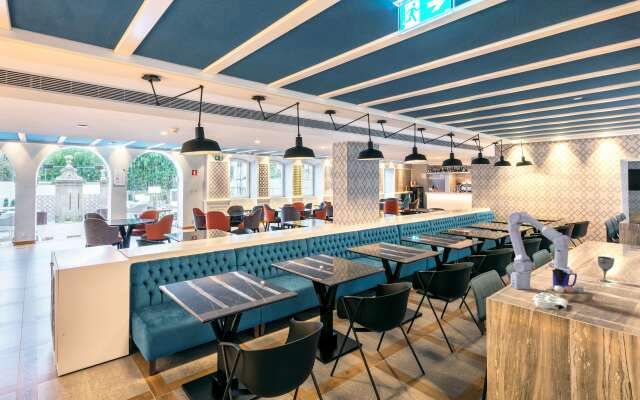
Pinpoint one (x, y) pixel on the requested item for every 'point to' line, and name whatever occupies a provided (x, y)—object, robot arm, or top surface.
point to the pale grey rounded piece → (559, 289)
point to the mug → (566, 280)
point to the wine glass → (605, 266)
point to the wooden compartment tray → (571, 296)
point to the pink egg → (568, 289)
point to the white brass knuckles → (549, 301)
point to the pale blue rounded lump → (578, 289)
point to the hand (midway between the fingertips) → (559, 283)
